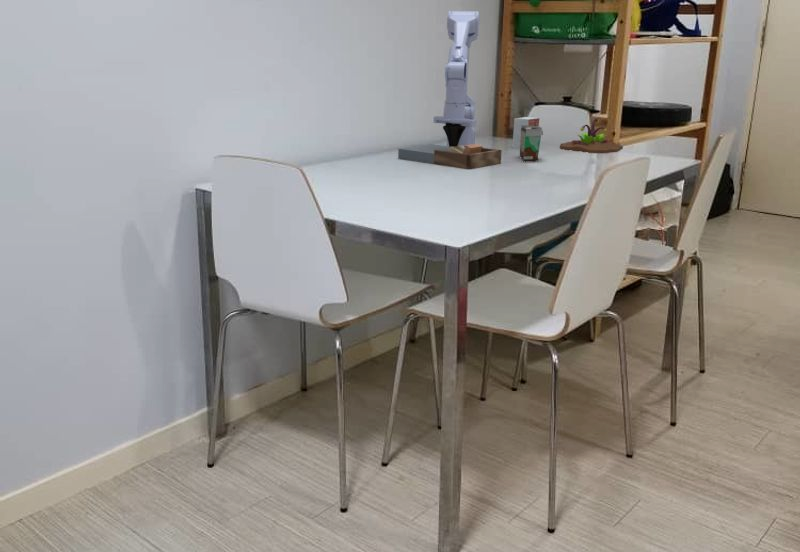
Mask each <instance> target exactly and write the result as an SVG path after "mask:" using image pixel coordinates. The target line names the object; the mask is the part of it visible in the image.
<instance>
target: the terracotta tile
mask: <svg viewBox="0 0 800 552" xmlns="http://www.w3.org/2000/svg"><path fill="white" fill-rule="evenodd" d="M482 148H484V147H483V145H481V144H480V143H478V142H477V143H475V144H470V145H465V148H464V152H463V154H474V153H481V150H482Z"/></svg>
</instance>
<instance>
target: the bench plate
mask: <svg viewBox="0 0 800 552" xmlns="http://www.w3.org/2000/svg"><path fill="white" fill-rule="evenodd" d="M449 148H450V147H448V146H447V145H440V144H431V143H430V144H425V145H424V144H423V145H417V146H408V147H401V148H400V147H399V148H398V149H397V150H398V152H397V156H398V158H397V159H399V160H404V161H405V160H406V161H412V162H420V163H427V164H432V165H434V150H441V151H449Z"/></svg>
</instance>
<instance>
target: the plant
mask: <svg viewBox="0 0 800 552" xmlns="http://www.w3.org/2000/svg"><path fill="white" fill-rule="evenodd" d="M599 122H600V119H599V118H594V119H593V121H592V123H591V127H590V125H588V124H584V125H583V126H581V127H580V131H581V132H582V133H580V134H581V135H580V134H578V133H576V135H577V136H578V137H579V138H580V139H576V140H575V139H573V140H571V141H567V142H562V143H560V145H559V149H560V150H563V149H564V150H565V151H569V150H572V151H573V152H579V151H582V153H586V152H588V153H587V154H609V153H617V152H620V151H621V150H623V148H624V145H621V144H618V143H617V142H613V141H612V140H607V139H606V137H607V135H605V134H604V133H607V132H608V128H606V127H605V126H599V127H597V128H596V127H595V126H596V125H595V124H599ZM585 127H586V128H587V132H584V131H585ZM595 128H596V129H595ZM601 129H602V132H603V133H601V134H598V135H596V134H597V132H598V131H600V130H601ZM583 132H584V133H583ZM604 135H605V136H604ZM604 139H606V140H604ZM603 140H604V141H603Z"/></svg>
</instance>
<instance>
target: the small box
mask: <svg viewBox="0 0 800 552" xmlns="http://www.w3.org/2000/svg"><path fill="white" fill-rule="evenodd" d="M521 125H528V126H538V127H540V118H539V117H531V116H524V117H518V118H516V117H515V118H514V121H513V133H512V149H518V148H520V140H521Z"/></svg>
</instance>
